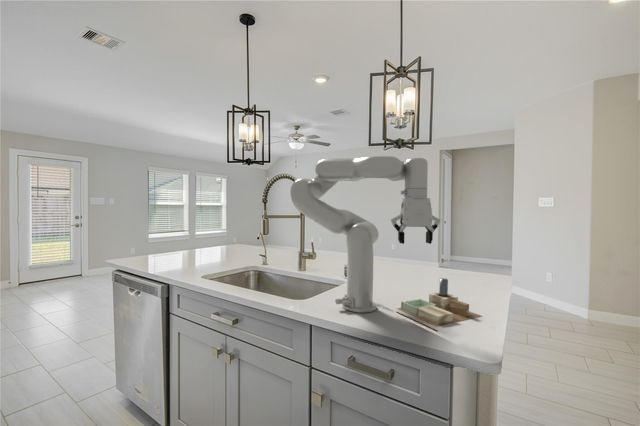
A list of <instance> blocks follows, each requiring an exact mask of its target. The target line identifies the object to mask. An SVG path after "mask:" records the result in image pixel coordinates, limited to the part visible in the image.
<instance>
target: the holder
mask: <svg viewBox="0 0 640 426" xmlns="http://www.w3.org/2000/svg"><path fill="white" fill-rule="evenodd" d="M453 299H454V300H457V301H459V296H456V295H453V294H451V293H450V294H449V293H448V296H447V297H441V296H439V292H434V293H429V294H428V302H430V303H433V304H436V305H437V307H438V308H440V309H443V310H449V309H450V300H453Z"/></svg>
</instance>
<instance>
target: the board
mask: <svg viewBox="0 0 640 426" xmlns="http://www.w3.org/2000/svg"><path fill="white" fill-rule="evenodd" d="M396 310H399V311H401V312H404V313H405V314H408V315H409V316H412V317H414V318H416V319H419V320H421V321H422V322H425V323H427V324H429V325H432V326H434V327H436V328H437V327H442V326H447V325H450V324H455V323H460V322H463V321H468V320H473V319H478V318H482V317H483V315H480V314H478V313H475V312H472V311H470V304H469V303H466V302H463V301H460V300H458V301H457V300H454V299H453V300H450V309H449V310H446V311H448V312H451V313H453V321H451V322H447V323H442V324H438V325H437V324H435V323H433V322H431V321H428V320H426V319H424V318H422V317H419V316H416V315H414V314H412V313H410V312H407V311H405V310H403V309H401V307H397V308H396ZM399 311H396V314H398V315H401V316H403V317H405V318H407V319H408V320H411V321H413V322H416V323H417V324H420V325H421V326H423V327H426V328H428V329H430V330H433V331H435V332H438V330H437V329H435V328H433V327H431V326H429V325H426V324H424V323H422V322H420V321H418V320H416V319H414V318H412V317H409V316H407V315H405V314H403V313H401V312H399Z"/></svg>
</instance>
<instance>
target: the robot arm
mask: <svg viewBox="0 0 640 426" xmlns="http://www.w3.org/2000/svg"><path fill="white" fill-rule="evenodd" d="M428 167H429V166H428V160H427V159H426V158H423V157H414V158H413V157H412V158H409V159H407V160H405V161H404V160H403V161H402V160H401V159H399V158H397V157H395V156H391V155H389V156H387V155H385V156H384V155H383V156H382V155H380V156H375V155H374V156H365V157H353V158H351V157H350V158H323V159H320V160H319V161H318V162H317V163H316V164H315V168H314V171H315V174H316V176H315V177H314V178H313V179H310V178H304V177H303V178H298V179H296V180H294V182H293V183H292V184H291V187H290V199H291V202H292V203H293V206H294V207H295V208H296V209H297V210H298V211H299V212H300V214H303V215H304V216H305V217H306V218H308V219H310V220H312V221H313V222H315V223H317V225H320V226H321V227H323V228H325V229H326V230H328V231H329V232H331V233H333V234H336V235H339V234H343V235H345V236H346V247H347V281H346V283H347V285H346V287H347V288H346V292H347V293H346V294H344V297H342V298H336V299H335V304H336V305H342V307H343V309H344V310H347V311H349V312H353V313H359V314H361V313H365V314H366V313H372V312H375V311H376V310H377V307H378V306H377V303H375V302H373V300H374V299H373V295H374V290H373V289H374V244H375V243H376V242H377V240H378V239H379V230H378V228H377V227H376V225H374V224H373V222H370V221H368V220H367V219H366V218H365V219H364V218H363V217H362V216H360V215H357V214H356V213H354V212H352V211H350V210H347V209H339V208H336V207H334V206H332V205H330V204H328V203H327V202H325V201H323V200H321V199H320V198H322V197H323V196H324V195H325V194H326V193H327V192H328V191H329V190H330V189H332V188H333V187H335V186H336V184H337V183H338V182H359V181H360V180H365V179H387V180H389V181H391V182H398V181H404V189H403V190H401V191H400V195H403V196H404V197H403V198H402V201H401V206H400V214H399V215H397V216H395V217H392V218H391V219H390V221H391V224H392V226H393V227H394V229H395V230H396V231H397V235H398V236H397V239H398V243H399V244H405V229H406V228H407V227H409V228H425V230H426V232H425V243H426V244H430V245H431V244H432V242H433V233H434V232H435V230H436V229H437V228H438V226H439V224H440V222H441V219H440V218H438V217H436V216H434V215H433V212H432V211H433V210H432V203H431V199H430V198H429V197H428ZM397 221H399V224H400V225H399V224H398V223H397Z"/></svg>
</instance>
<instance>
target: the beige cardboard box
mask: <svg viewBox="0 0 640 426" xmlns="http://www.w3.org/2000/svg"><path fill="white" fill-rule="evenodd" d="M418 316H419V317H422V318H424V319H426V320H428V321H431V322H433V323H435V324H437V325H438V324H442V323H447V322H451V321H453V313H451V312H448V311H446V310H443V309H440V308H438V307H435V306H430V307H424V308H419V309H418Z"/></svg>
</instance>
